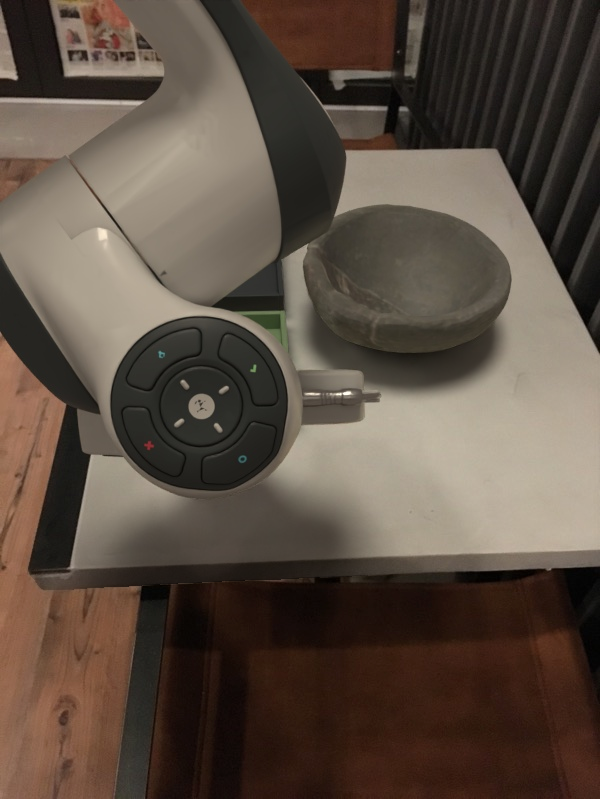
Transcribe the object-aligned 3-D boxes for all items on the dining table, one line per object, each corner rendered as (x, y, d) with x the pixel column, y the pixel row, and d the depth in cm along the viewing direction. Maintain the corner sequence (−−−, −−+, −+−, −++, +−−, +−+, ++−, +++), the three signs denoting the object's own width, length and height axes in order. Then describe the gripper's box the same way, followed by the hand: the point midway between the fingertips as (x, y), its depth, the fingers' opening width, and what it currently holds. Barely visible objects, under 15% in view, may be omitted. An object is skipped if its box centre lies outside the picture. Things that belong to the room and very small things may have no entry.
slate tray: (155, 316, 81) (152, 297, 79) (164, 244, 91) (162, 226, 89) (283, 314, 82) (284, 295, 80) (278, 243, 92) (278, 224, 90)
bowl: (494, 408, 72) (518, 335, 64) (284, 375, 74) (284, 301, 67) (495, 281, 87) (514, 211, 80) (321, 257, 90) (325, 187, 83)
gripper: (386, 345, 43) (353, 356, 57) (52, 351, 41) (102, 361, 55) (388, 446, 43) (355, 432, 57) (55, 455, 42) (104, 439, 55)
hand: (228, 397), depth 56 cm, fingers closed on beverage can, 7 cm apart
